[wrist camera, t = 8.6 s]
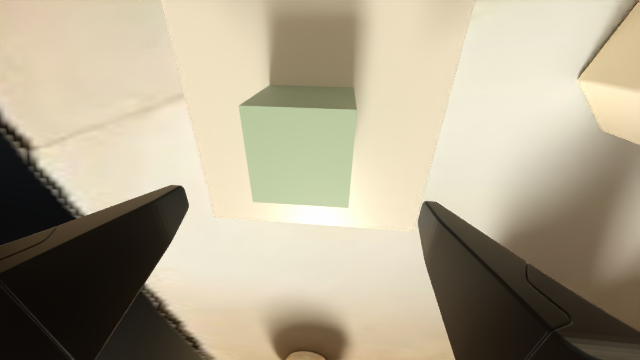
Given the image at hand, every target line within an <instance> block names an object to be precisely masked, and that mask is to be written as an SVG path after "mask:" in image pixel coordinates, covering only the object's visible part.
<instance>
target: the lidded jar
mask: <svg viewBox="0 0 640 360" xmlns="http://www.w3.org/2000/svg"><path fill="white" fill-rule="evenodd" d="M285 360H326V359H325V358H324V357H323V356H321V355H319V354H317V353H314V352H309V351H297V352H293V353H291V354H290V355H288V357H287V359H285Z"/></svg>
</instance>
